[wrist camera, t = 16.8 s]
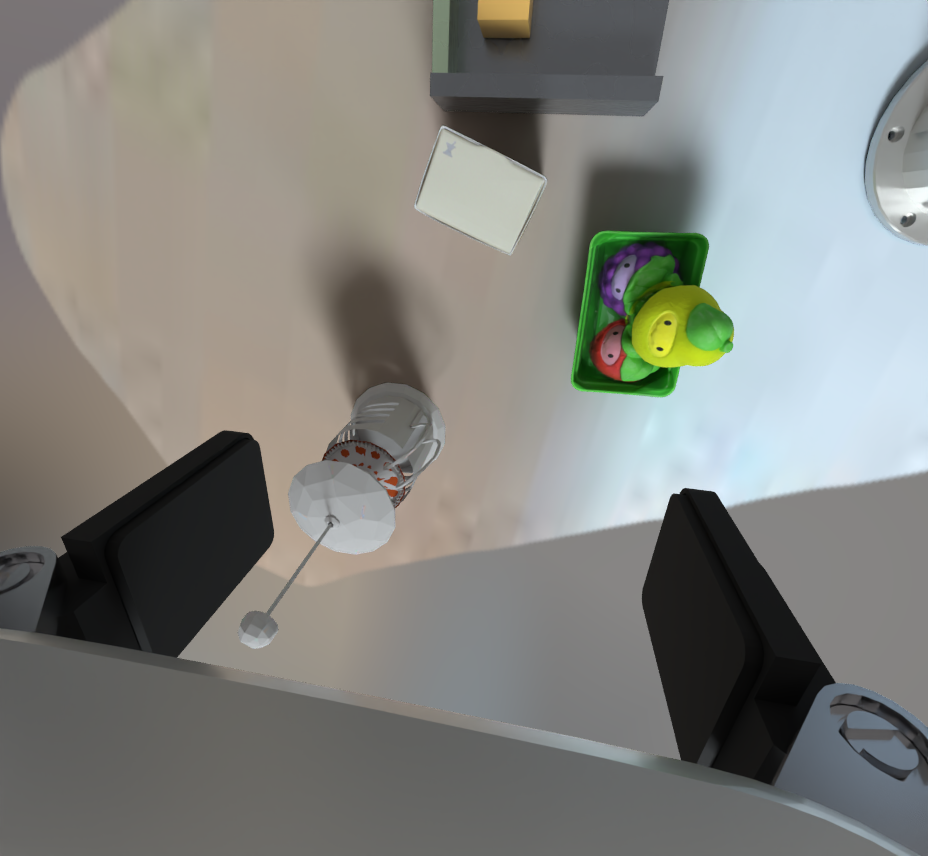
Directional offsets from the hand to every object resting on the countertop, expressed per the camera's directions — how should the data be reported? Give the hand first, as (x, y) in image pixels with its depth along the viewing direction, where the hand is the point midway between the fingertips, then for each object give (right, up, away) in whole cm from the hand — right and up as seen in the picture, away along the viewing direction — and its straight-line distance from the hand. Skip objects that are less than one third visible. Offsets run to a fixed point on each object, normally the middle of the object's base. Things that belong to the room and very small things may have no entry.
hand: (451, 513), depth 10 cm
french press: (-6, +2, +34) cm, 35 cm away
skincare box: (+3, +20, +24) cm, 31 cm away
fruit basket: (+14, +12, +26) cm, 32 cm away
